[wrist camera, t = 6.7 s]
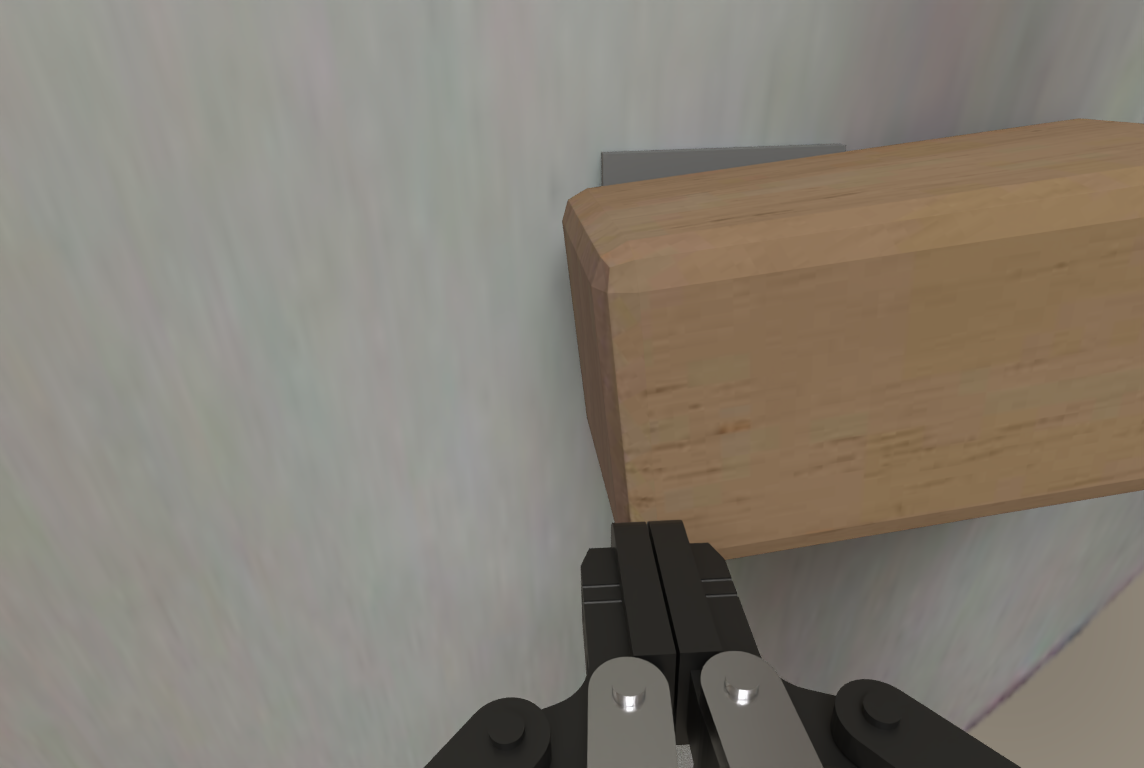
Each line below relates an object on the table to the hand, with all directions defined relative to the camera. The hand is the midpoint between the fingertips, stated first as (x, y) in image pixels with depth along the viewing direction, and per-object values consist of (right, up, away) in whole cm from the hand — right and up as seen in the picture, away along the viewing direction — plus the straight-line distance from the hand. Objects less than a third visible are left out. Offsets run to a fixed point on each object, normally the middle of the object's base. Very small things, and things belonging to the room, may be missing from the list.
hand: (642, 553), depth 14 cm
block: (-1, +4, +8) cm, 9 cm away
